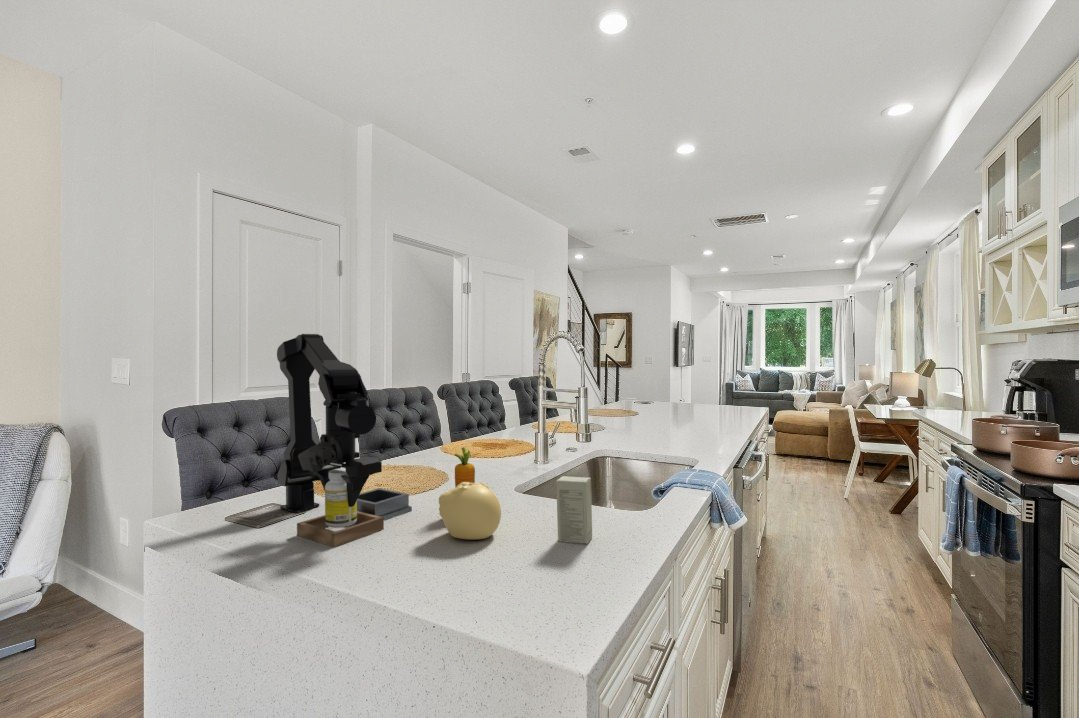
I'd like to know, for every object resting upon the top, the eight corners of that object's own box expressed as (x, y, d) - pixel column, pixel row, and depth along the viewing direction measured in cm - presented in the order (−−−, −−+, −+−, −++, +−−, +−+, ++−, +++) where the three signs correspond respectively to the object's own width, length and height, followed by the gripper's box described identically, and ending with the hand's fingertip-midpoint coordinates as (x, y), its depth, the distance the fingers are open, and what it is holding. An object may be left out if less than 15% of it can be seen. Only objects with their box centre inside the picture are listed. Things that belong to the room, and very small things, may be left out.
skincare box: (592, 537, 107) (592, 477, 107) (587, 545, 103) (587, 482, 103) (562, 534, 110) (562, 474, 109) (555, 541, 105) (555, 479, 105)
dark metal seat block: (341, 515, 122) (341, 497, 122) (379, 503, 131) (379, 487, 131) (374, 523, 116) (374, 505, 116) (411, 510, 126) (411, 493, 125)
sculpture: (475, 522, 117) (475, 473, 117) (512, 535, 109) (511, 483, 108) (431, 535, 109) (430, 482, 109) (466, 550, 101) (466, 493, 100)
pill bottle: (345, 516, 115) (345, 465, 115) (363, 522, 111) (362, 469, 111) (318, 524, 110) (318, 471, 110) (336, 530, 106) (336, 475, 106)
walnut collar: (297, 535, 109) (296, 523, 109) (346, 519, 119) (346, 508, 119) (334, 547, 102) (334, 534, 102) (383, 529, 113) (383, 517, 112)
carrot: (471, 516, 121) (471, 450, 121) (450, 515, 122) (450, 449, 122) (478, 510, 126) (478, 446, 126) (458, 508, 127) (458, 445, 127)
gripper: (277, 430, 108) (277, 506, 109) (336, 438, 98) (337, 522, 99) (324, 423, 118) (325, 494, 118) (383, 430, 108) (383, 507, 108)
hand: (341, 504), depth 111 cm, fingers closed on pill bottle, 6 cm apart
